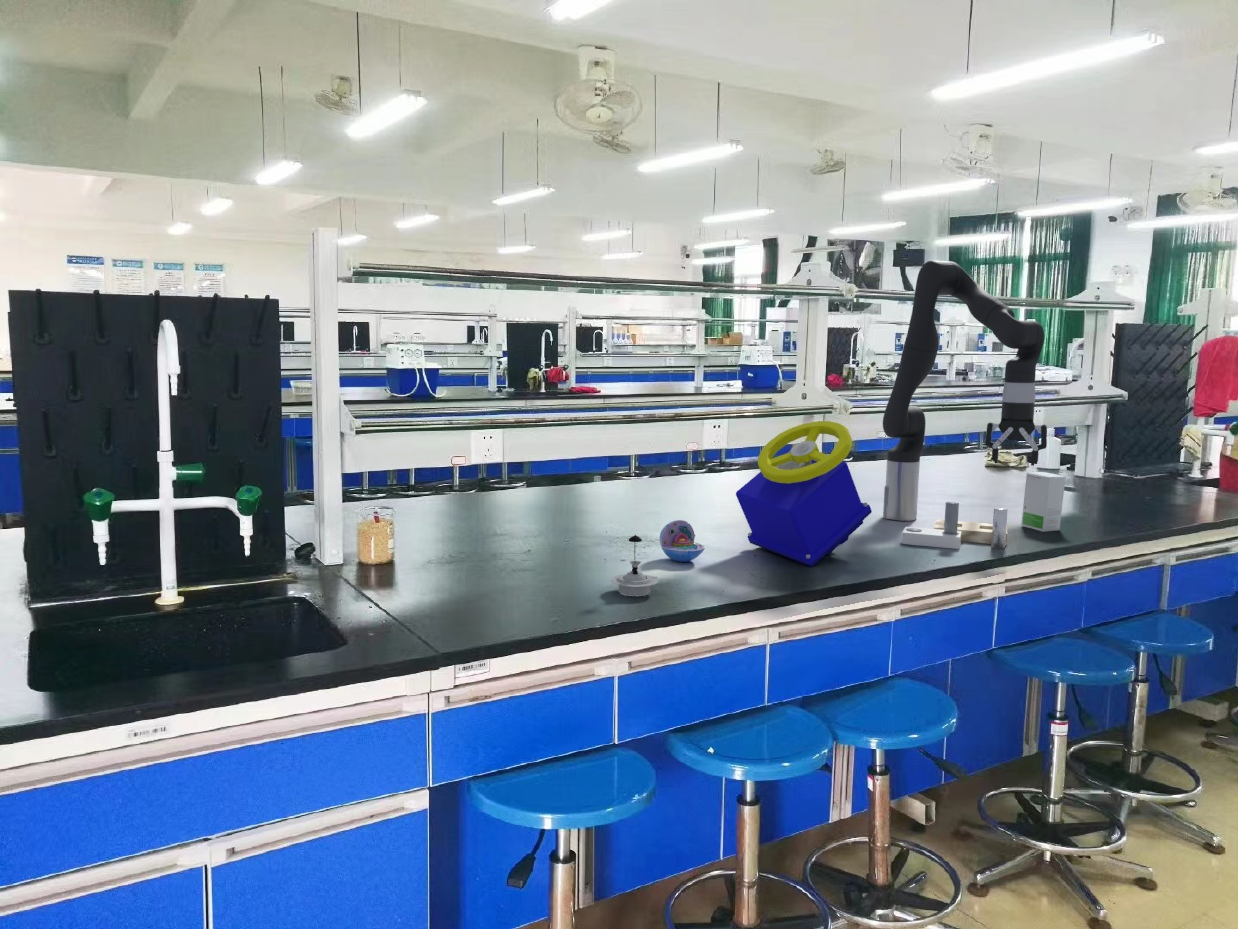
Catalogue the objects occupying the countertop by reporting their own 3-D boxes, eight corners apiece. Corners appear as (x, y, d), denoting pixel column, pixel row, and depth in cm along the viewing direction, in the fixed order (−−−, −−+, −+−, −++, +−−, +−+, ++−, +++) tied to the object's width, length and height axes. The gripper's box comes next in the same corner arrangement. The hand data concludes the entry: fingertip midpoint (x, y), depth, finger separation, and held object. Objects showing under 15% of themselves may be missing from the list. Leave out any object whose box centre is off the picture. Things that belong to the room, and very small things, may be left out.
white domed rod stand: (663, 539, 181) (655, 529, 191) (613, 540, 180) (608, 530, 190) (662, 599, 183) (655, 585, 193) (612, 600, 182) (608, 586, 192)
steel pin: (991, 548, 230) (993, 509, 228) (991, 545, 232) (993, 507, 231) (1004, 549, 228) (1007, 510, 227) (1004, 546, 231) (1007, 508, 230)
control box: (824, 505, 239) (788, 411, 226) (904, 529, 217) (869, 427, 204) (757, 564, 230) (716, 470, 217) (834, 595, 208) (793, 493, 195)
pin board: (933, 538, 240) (933, 527, 240) (936, 529, 251) (936, 519, 251) (1006, 545, 233) (1007, 533, 233) (1006, 535, 244) (1007, 525, 244)
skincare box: (1020, 526, 257) (1024, 472, 255) (1037, 524, 259) (1041, 471, 257) (1044, 532, 249) (1049, 476, 247) (1062, 530, 252) (1066, 475, 250)
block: (901, 543, 234) (904, 502, 232) (904, 537, 241) (907, 497, 240) (959, 549, 228) (962, 506, 227) (960, 542, 236) (963, 501, 234)
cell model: (679, 569, 207) (680, 528, 205) (650, 558, 217) (651, 518, 215) (714, 563, 212) (715, 523, 210) (684, 553, 222) (685, 515, 220)
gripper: (986, 400, 227) (982, 464, 230) (1049, 402, 221) (1044, 467, 223) (989, 398, 234) (985, 460, 236) (1050, 400, 228) (1045, 464, 230)
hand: (1014, 464), depth 230 cm, fingers open, 8 cm apart
